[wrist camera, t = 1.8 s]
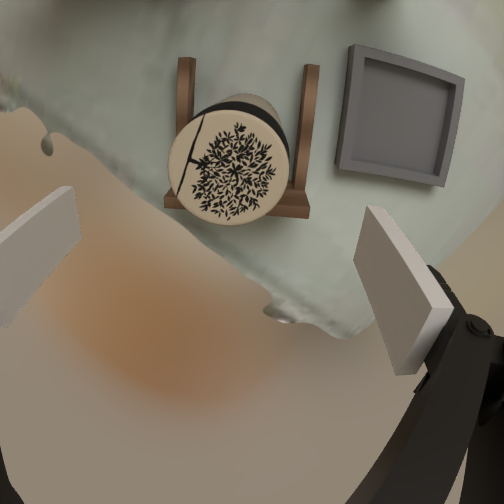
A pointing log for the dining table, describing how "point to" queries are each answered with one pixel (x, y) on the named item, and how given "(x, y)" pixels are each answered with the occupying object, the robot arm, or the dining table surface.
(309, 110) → the walnut dock
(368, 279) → the robot arm
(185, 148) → the travel mug
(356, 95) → the charcoal tray
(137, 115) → the dining table surface
